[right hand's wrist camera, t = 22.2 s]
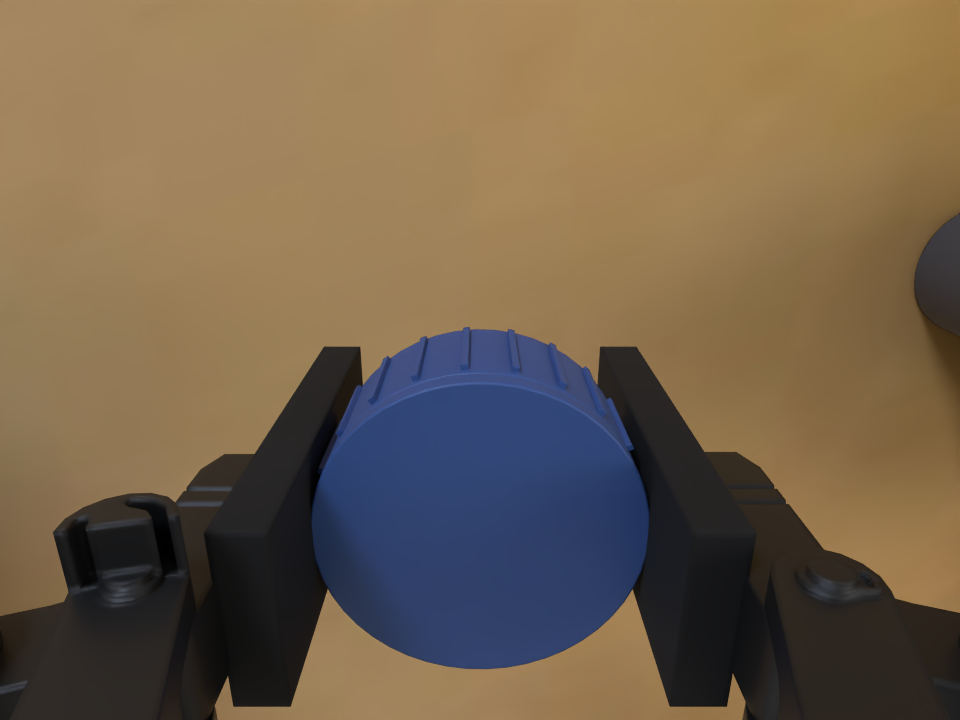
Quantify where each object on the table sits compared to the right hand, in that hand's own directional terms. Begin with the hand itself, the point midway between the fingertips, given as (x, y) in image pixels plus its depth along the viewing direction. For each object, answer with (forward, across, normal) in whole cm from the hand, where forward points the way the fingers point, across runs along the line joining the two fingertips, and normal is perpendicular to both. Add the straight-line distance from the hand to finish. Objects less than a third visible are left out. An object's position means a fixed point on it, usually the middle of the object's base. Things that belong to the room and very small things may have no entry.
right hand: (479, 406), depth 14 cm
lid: (-4, 0, 0) cm, 4 cm away
